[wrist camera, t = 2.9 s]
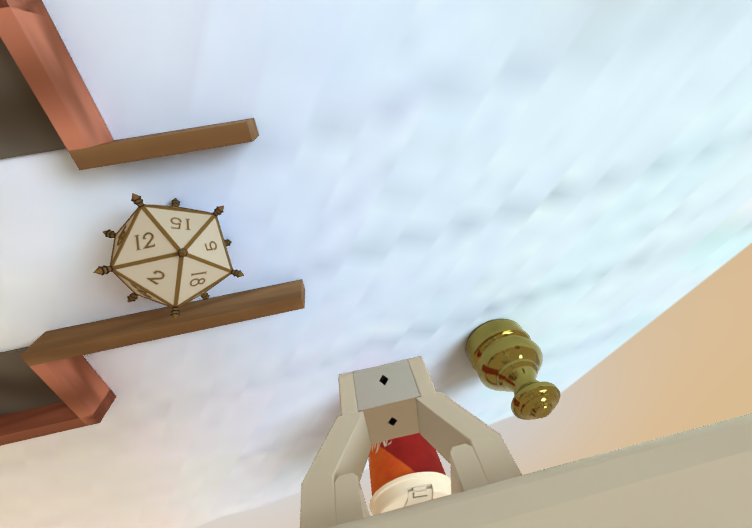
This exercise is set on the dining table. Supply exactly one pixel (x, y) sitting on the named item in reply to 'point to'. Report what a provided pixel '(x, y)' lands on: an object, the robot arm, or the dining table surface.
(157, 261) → the game die
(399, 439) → the paper cup
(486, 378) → the gold metal turned piece
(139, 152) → the trap channel
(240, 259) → the dining table surface
